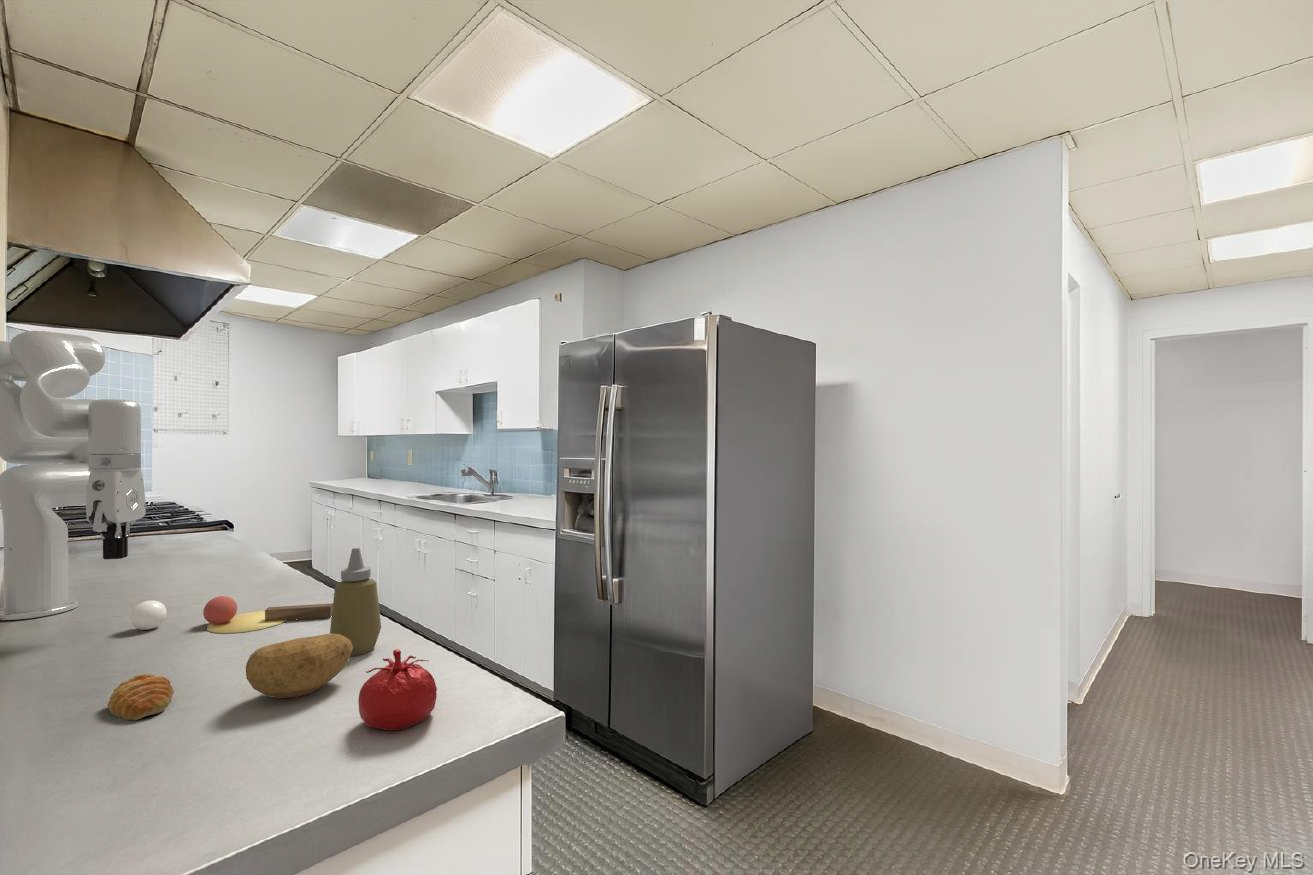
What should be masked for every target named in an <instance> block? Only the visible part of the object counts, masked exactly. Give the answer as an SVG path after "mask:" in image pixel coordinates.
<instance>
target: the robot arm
mask: <svg viewBox="0 0 1313 875" xmlns="http://www.w3.org/2000/svg"><path fill="white" fill-rule="evenodd" d="M104 350H105V349H104V348H103V347H102V345H101V344H100V343H99V342H98V341H97V340H96V339H94V338H92V337H90V336H86V335H79V334H71V333H62V332H53V331H45V330H27V331H23V332H20V333H18V334H16V335H15V336H14V337H13V338H11V339H10V341H7V340H0V458H1V459H2V461H4V462H6V463H9V464H15V465H16V466H12V467H10V468H7V469H6V470H4V471H3V472H1V473H0V509H1V516H2V524H3V607H2V608H0V621H14V620H15V621H16V620H17V621H18V620H28V619H34V618H42V617H46V616H53V615H57V614H61V613H64V612H68V611H70V610H73V609H75V608H77V607H78V605H79V600H77V599H76V598H75V599H74V598H69V530H68V528H69V527H68V525H67V523H66V522H65V521H64V520H63V519H62V517H60V516H59V515H58V514H57V513H56V512H55V511H54V510H53V509H55V508H62V507H72V506H73V507H75V506H84V505H85V511H86V512H85V513H86V521H87V522H88V523H89V524H90V525H92V531H93V532H97V533H100V538H101V540H102V559H103V560H121V559H124V558H127V557H128V556H129V553H128V552H129V544H128V542H129V536H130V531H131V530H130V529H131V527H132V526H133V525H135V523H136V522H137V520H140V519H142V518H144V517H145V516H146V513H147V512H146V493H145V483H144V477H143V473H142V415H141V414H142V411H141V410H142V409H141V406H140V404H139V403H138V402H137V401H134V400H131V399H130V400H129V399H116V398H115V399H113V398H112V399H111V398H105V399H101V398H99V399H92V398H77V397H76V398H74V397H73V396H76V395H78V394H80V393H81V392H83V391H84V390H85V389H86V388H87V386H88V385H89V383H90V381H91V380H90V379H91V377H92V376H94V375H96V374H98V373H99V372H100V371H101V370H102V369H103V368H104V366H105V362H106V353H105V351H104ZM15 381H16V382H17V381H18V382H25V384H24V385H23V386H22V387H21V386H20V385H19V384H17V383H15ZM71 397H72V398H71ZM21 464H22V465H21Z"/></svg>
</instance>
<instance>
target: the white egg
mask: <svg viewBox="0 0 1313 875" xmlns="http://www.w3.org/2000/svg"><path fill="white" fill-rule="evenodd" d="M167 614H168V611H167V608H166V606H165V604H163V603H162V602H161V601H158V600H145V601H142V602H139V604H137V605H136V606H135V607H133V609H132V610H131V612H130V615H129V620H130V624H131V625H132V626H133V627H134V628H136V629H138V630H141V631H142V630H143V631H147V630H153V629H155V628H157V627H159V626H160V625H161V624H162V623H163V622H164V621H165V620H166V618H167Z"/></svg>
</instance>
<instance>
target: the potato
mask: <svg viewBox="0 0 1313 875" xmlns="http://www.w3.org/2000/svg"><path fill="white" fill-rule="evenodd" d="M352 649H353V645H352V643H351V641H350V640H349V639H348V638H347V637H345V636H343V635H340V634H330V633H325V634H319V635H315V636H305V637H298V638H293V639H290V640H289V639H288V640H286V641H280V642H276V643H272V644H268V645H265V646H262V647H259V648H258V649H256V650H254V652H252V653H251V654H250V655H249V657H248V659H247V662H246V664H245V677H246V680H247V681H248V683H249V684H250V686H251V688H252V689H253V690H255V691H257V692H259V693H260V694H262V695H265V696H267V697H271V698H277V699H279V698H280V699H283V698H284V699H288V698H296V697H301V696H306V695H309V694H312V692H314V691H316V690H319V689H320V688H321V687H323V686H324V685H326V684H327V683H328V682H330V681H331V680H332V679H333V678H335V677H336V676H337V675H338V674H340V672H341V671H342V670H343V669H344V668H345V667H346V665H347V664H348V663H349V659H350V654H351V652H352Z"/></svg>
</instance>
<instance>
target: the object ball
mask: <svg viewBox="0 0 1313 875" xmlns="http://www.w3.org/2000/svg"><path fill="white" fill-rule="evenodd" d="M202 612H203V613H202V614H203V617H204V620H206V622H208V623H209V624H216V625H218V624H224V623H227V622H228V621H230V620H231V619H232V618H233V617H234V616H235V615H237V612H238V605H237V602H236V601H235V600H234V598H232V597H230V596H226V595H221V596H217V597H213V598H211V599H210V600H209V601H207V602H206V604H205V606H204V607H203V610H202Z"/></svg>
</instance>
